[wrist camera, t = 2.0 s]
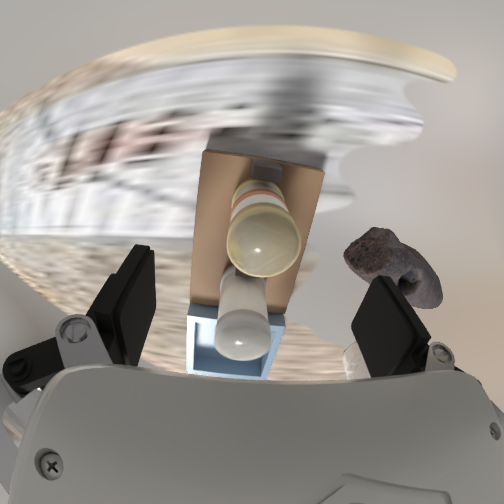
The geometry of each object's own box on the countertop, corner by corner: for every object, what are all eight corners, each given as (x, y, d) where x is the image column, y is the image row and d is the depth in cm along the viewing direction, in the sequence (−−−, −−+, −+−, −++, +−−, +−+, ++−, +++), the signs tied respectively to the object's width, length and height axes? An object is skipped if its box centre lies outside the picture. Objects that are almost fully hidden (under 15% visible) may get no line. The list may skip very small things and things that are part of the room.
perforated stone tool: (436, 268, 28) (466, 301, 22) (411, 298, 30) (435, 335, 24) (361, 203, 24) (396, 234, 18) (330, 245, 26) (353, 286, 20)
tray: (282, 308, 30) (285, 326, 27) (264, 362, 34) (265, 380, 32) (191, 297, 29) (187, 315, 26) (189, 354, 33) (186, 372, 31)
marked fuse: (287, 181, 21) (309, 217, 14) (277, 228, 23) (291, 281, 16) (236, 173, 21) (231, 205, 14) (229, 221, 23) (222, 272, 16)
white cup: (397, 332, 33) (425, 386, 24) (373, 367, 37) (392, 418, 28) (351, 331, 32) (376, 393, 23) (329, 368, 36) (345, 426, 27)
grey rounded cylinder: (268, 265, 25) (277, 325, 18) (260, 300, 27) (265, 362, 20) (223, 259, 25) (216, 319, 18) (218, 295, 27) (212, 357, 20)
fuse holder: (320, 169, 22) (336, 181, 18) (283, 304, 29) (288, 333, 25) (205, 149, 21) (196, 157, 17) (191, 293, 28) (184, 322, 24)
